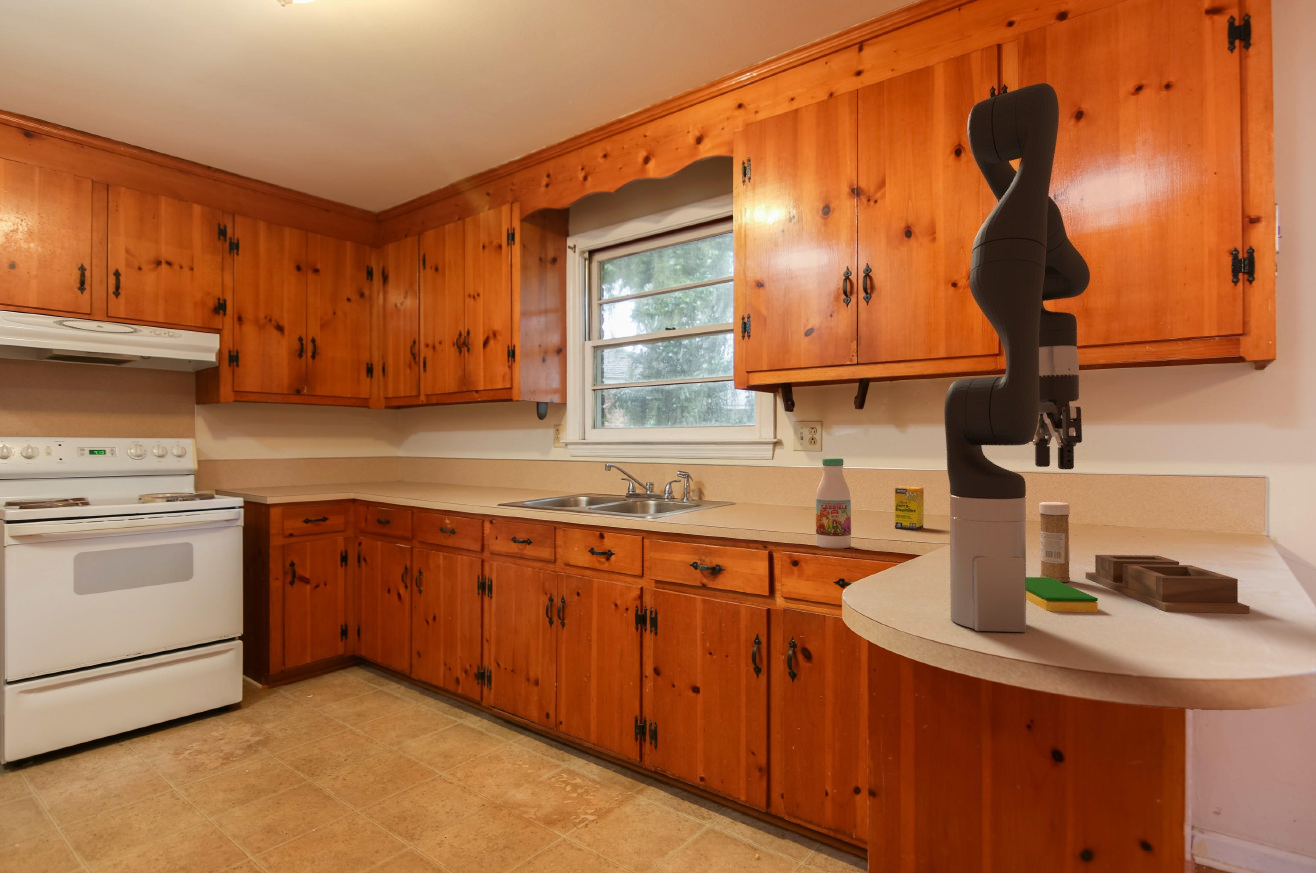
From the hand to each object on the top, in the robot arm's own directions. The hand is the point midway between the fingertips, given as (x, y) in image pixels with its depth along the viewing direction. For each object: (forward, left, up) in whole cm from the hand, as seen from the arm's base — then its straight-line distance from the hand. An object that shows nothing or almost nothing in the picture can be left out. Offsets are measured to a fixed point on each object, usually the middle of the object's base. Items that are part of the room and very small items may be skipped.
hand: (1053, 467), depth 116 cm
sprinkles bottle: (0, 0, -20) cm, 20 cm away
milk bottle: (+32, +33, -20) cm, 50 cm away
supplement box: (+62, +9, -20) cm, 66 cm away
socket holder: (-9, -12, -19) cm, 24 cm away
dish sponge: (-14, +7, -20) cm, 26 cm away
